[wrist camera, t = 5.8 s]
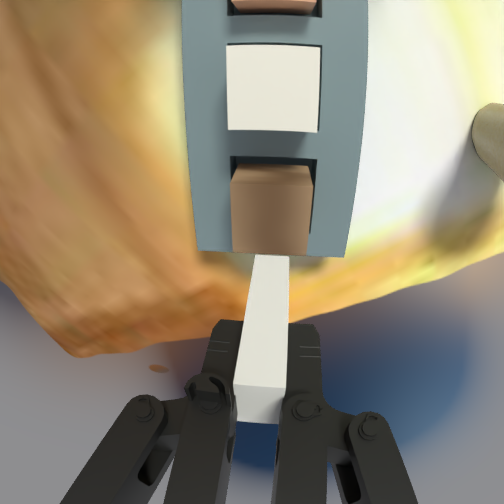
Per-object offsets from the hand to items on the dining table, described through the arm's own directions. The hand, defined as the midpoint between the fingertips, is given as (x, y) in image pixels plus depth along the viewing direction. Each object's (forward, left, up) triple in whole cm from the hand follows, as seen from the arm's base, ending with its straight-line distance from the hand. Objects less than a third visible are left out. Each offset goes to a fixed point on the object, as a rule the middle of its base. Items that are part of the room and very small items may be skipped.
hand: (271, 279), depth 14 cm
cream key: (0, +8, -9) cm, 12 cm away
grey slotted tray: (0, +8, -13) cm, 16 cm away
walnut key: (0, 0, -9) cm, 9 cm away
